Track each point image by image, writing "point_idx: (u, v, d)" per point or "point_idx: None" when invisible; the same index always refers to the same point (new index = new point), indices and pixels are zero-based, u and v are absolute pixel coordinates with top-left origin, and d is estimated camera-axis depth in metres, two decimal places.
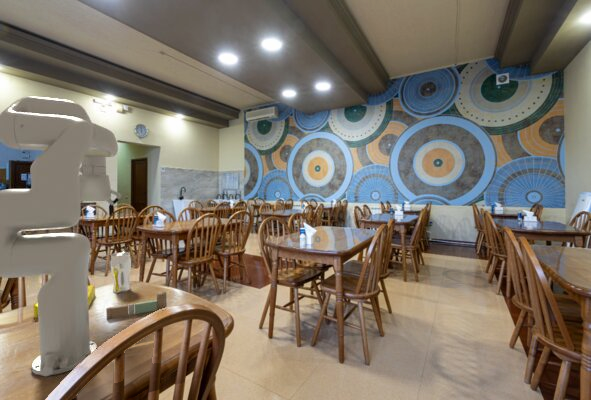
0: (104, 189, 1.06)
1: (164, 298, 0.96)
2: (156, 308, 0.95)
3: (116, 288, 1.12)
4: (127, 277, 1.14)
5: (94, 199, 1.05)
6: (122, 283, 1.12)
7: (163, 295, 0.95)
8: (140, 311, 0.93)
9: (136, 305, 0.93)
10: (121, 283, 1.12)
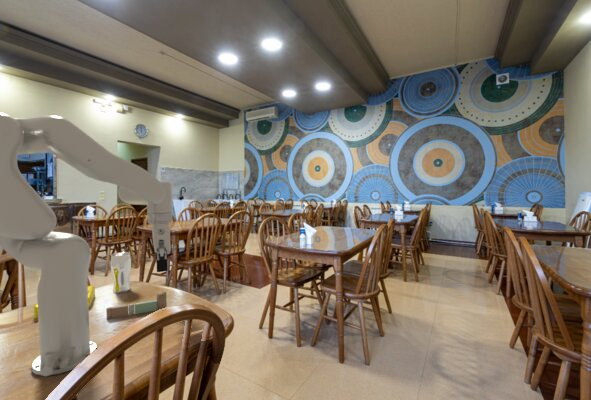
0: None
1: (164, 298, 0.96)
2: (156, 308, 0.95)
3: (116, 288, 1.12)
4: (127, 277, 1.14)
5: None
6: (122, 283, 1.12)
7: (163, 295, 0.95)
8: (140, 311, 0.93)
9: (136, 305, 0.93)
10: (121, 283, 1.12)
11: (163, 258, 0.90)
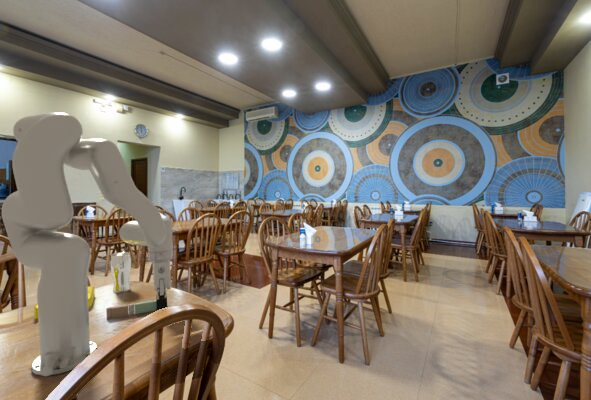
0: None
1: None
2: (156, 308, 0.95)
3: (116, 288, 1.12)
4: (127, 277, 1.14)
5: None
6: (122, 283, 1.12)
7: None
8: (140, 311, 0.93)
9: (136, 305, 0.93)
10: (121, 283, 1.12)
11: (163, 297, 0.94)
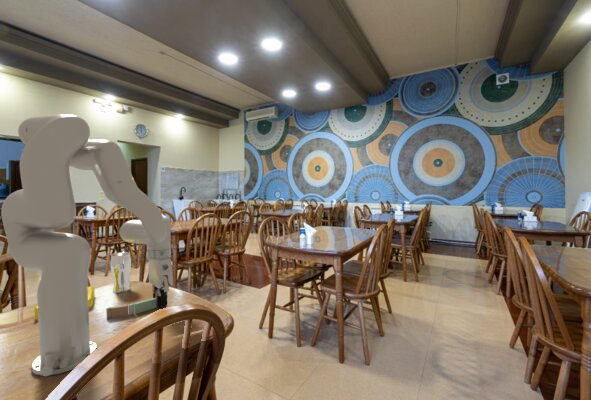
0: None
1: None
2: (155, 306, 0.97)
3: (116, 288, 1.12)
4: (127, 277, 1.14)
5: None
6: (122, 283, 1.12)
7: None
8: (140, 310, 0.94)
9: (136, 304, 0.93)
10: (121, 283, 1.12)
11: (165, 294, 0.97)
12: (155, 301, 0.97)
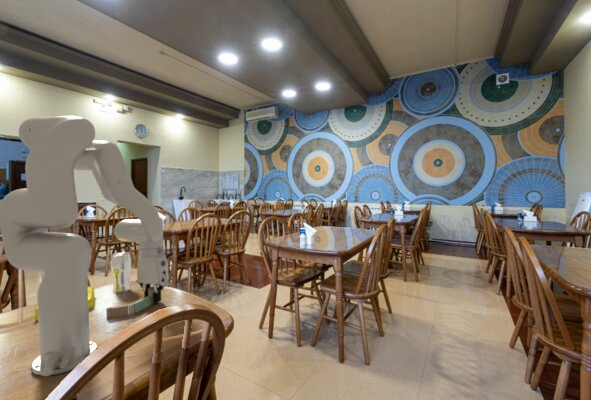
0: None
1: None
2: (150, 303, 0.99)
3: (116, 288, 1.12)
4: (127, 277, 1.14)
5: None
6: (122, 283, 1.12)
7: None
8: (139, 309, 0.95)
9: (136, 304, 0.94)
10: (121, 283, 1.12)
11: (161, 289, 1.00)
12: (150, 298, 0.99)
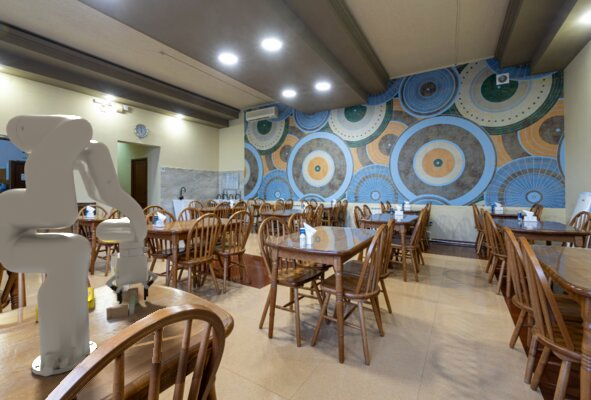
0: None
1: None
2: (135, 303, 0.99)
3: None
4: None
5: None
6: None
7: None
8: (134, 308, 0.95)
9: (133, 303, 0.94)
10: None
11: None
12: (135, 298, 0.99)
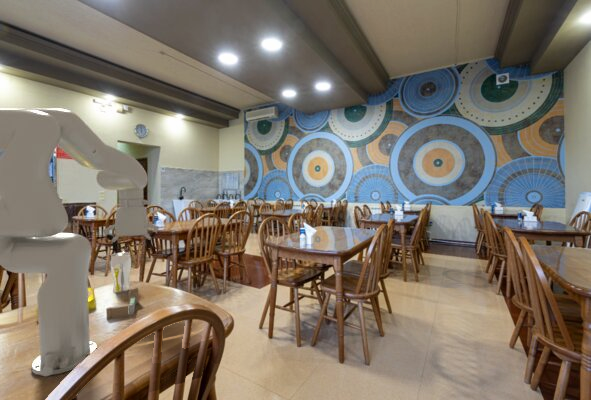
0: None
1: None
2: (135, 303, 0.99)
3: (116, 288, 1.12)
4: (127, 277, 1.14)
5: None
6: (122, 283, 1.12)
7: None
8: (134, 308, 0.95)
9: (133, 303, 0.94)
10: (121, 283, 1.12)
11: None
12: (135, 298, 0.99)
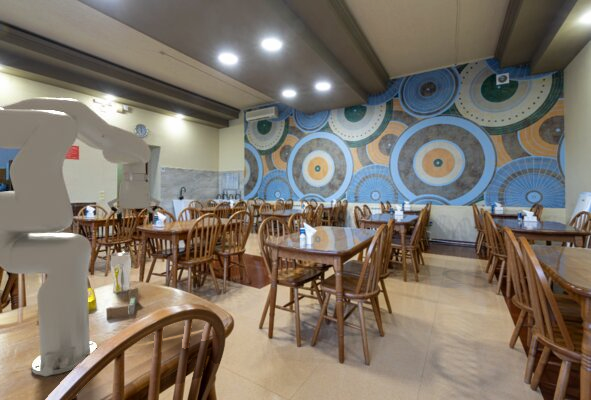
0: None
1: None
2: (135, 303, 0.99)
3: (116, 288, 1.12)
4: (127, 277, 1.14)
5: None
6: (122, 283, 1.12)
7: None
8: (134, 308, 0.95)
9: (133, 303, 0.94)
10: (121, 283, 1.12)
11: (154, 210, 1.10)
12: (135, 298, 0.99)
